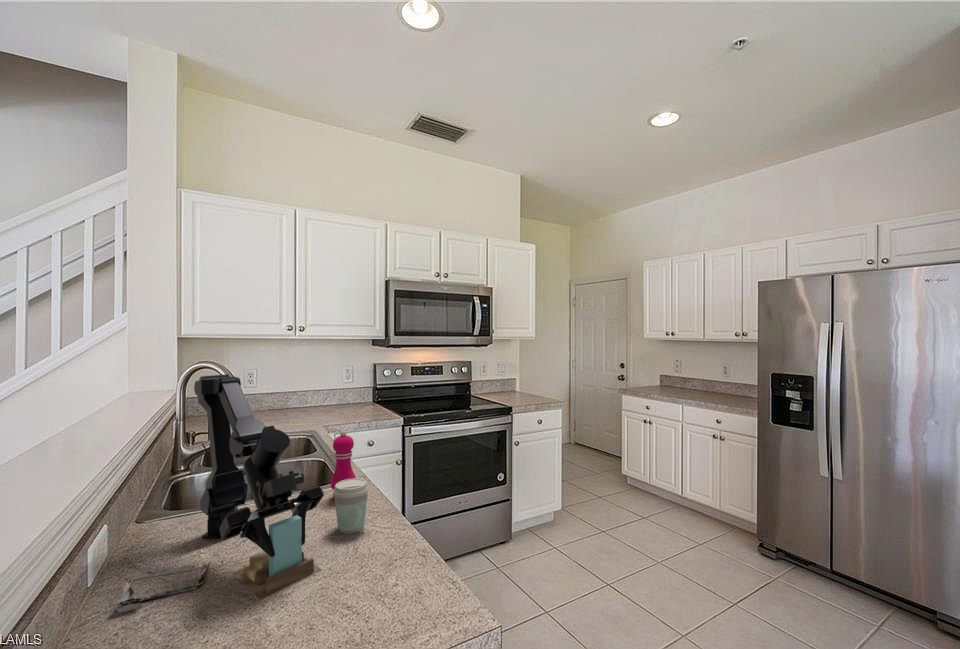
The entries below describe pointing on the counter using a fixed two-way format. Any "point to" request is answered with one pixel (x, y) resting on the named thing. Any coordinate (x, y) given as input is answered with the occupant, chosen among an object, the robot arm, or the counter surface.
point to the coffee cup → (351, 505)
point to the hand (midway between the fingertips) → (288, 550)
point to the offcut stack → (256, 564)
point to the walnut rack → (277, 578)
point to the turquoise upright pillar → (285, 544)
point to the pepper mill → (342, 459)
